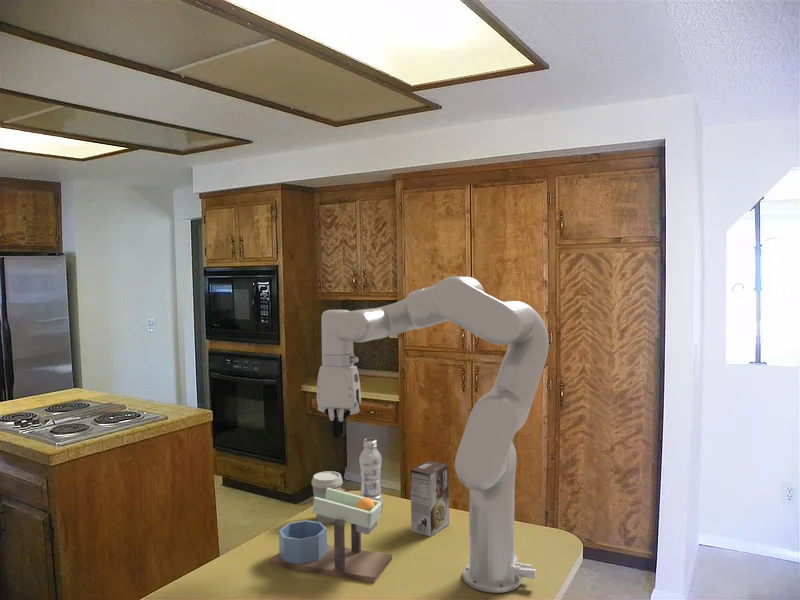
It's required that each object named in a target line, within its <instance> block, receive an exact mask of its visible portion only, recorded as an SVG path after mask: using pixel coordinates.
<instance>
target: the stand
mask: <svg viewBox="0 0 800 600" xmlns="http://www.w3.org/2000/svg"><path fill="white" fill-rule="evenodd" d="M356 526H357V525H356V524H352V523H350V530H351V531H350V533H351V534H350V537H351V538H350V539H351V540H350V541H351V543H350V544H351V548H350V547H345V546H346V545H345V543H346V542H345V540H346V539H345V521H344V520H338V519H336V520H335V521H334V523H333V539H334V540H333V541H334V542H333V543H334V544H333V545H331V544H330V545H329V544H327V553H326V554H325V555H324V556H323V557H322V558H321V559H319V560H318V561H313V562H309V563H304V564H295V563H289V562H284V561H283V559H282V558H281V556H280V554H279V552H277V554H275V555H274V556H273V557H272V558H271V559H270V560H269V565H272V567H276V566H278V567H277V568H282V567H284V568H283V569H288V568H290V569H289V570H293V571H294V570H295V571H302V572H306V573H313V574H319V575H325V576H331V577H336V578H343V579H349V580H355V581H359V582H360V581H361V582H365V583H372V584H375V583H376V582H377V580H378V579H379V578H380V576H381V575H382V574H383V572H384V571H385V570H386V568H387V567H388V566H389V564H391V562H392V561H393V554H392V553H390V554H389V553H384V552H376V551H371V550H370V551H369V550H363V549H362V542H361V541H362V533H360V532H357V531H356Z"/></svg>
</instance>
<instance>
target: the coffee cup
mask: <svg viewBox="0 0 800 600" xmlns="http://www.w3.org/2000/svg"><path fill="white" fill-rule="evenodd" d="M343 483H344V479H343V476H342V474H341V473H340V472H337V471H332V470H330V471H327V470H325V471H321V472H317V473H315V474H313V477H312V479H311V486H312V491H313V499H314V498H315V497H318V498H322V499H325V496H326V489H327V488H332V489H337V488H341V489H343V488H342V487H343ZM315 514H316V515H315V516H316V522H321V523H322V524H323V525H324V524H325V525H327V524H334V521H335V520H336V519H335V518H331V517H328V516H324V515H321V514H317V513H315Z"/></svg>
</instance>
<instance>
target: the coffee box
mask: <svg viewBox="0 0 800 600" xmlns="http://www.w3.org/2000/svg"><path fill="white" fill-rule="evenodd" d="M449 488H450V486H449V464H445V463H441V462H438V461H433V460H428V461H425V462H423V463H421V464H420V465H417V466H416V467H413V468H412V469H410V511H411V512H410V513H411V516H410V517H411V518H410V521H411V526H410V527H411V532H414V533H416V534H417V533H418V534H420V535H425V536H427V537H433V536H434V535H435V534H437V533H438V532H440V531H442V530H443V529H444V528H446V527H447V526H448V525H450V498H449V497H450V496H449V490H450V489H449Z"/></svg>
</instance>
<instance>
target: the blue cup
mask: <svg viewBox="0 0 800 600" xmlns="http://www.w3.org/2000/svg"><path fill="white" fill-rule="evenodd" d="M327 531H328V529H327V527H326V526H325V525H324V524H323V523H321V522H318V521H315V520H314V521H313V520H309V519H308V520H307V519H306V520H304V519H303V520H299V521H294V522H288V523H287V524H286V525H284V526H283V527H281V528H280V529H279V530H278V553H279V554H280V556H281V558H282V559H283V561H284V562H289V563H295V564H304V563H309V562H313V561H318V560H319V559H321V558H322V557H323V556H324V555H325V554H326V553H327V545H328V537H327V536H328V534H327V533H328V532H327Z"/></svg>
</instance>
